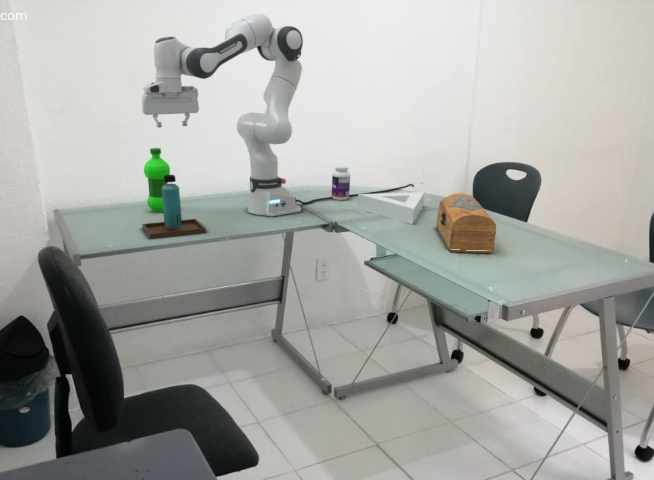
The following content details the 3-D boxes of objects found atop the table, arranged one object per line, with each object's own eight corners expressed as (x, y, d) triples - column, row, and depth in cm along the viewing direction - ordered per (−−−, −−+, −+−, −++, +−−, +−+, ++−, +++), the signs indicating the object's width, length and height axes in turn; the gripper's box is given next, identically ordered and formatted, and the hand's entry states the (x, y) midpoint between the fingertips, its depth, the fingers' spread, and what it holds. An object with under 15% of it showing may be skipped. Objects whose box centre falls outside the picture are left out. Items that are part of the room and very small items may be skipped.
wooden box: (433, 227, 234) (437, 192, 228) (476, 229, 233) (481, 193, 227) (444, 252, 206) (449, 213, 201) (493, 254, 206) (499, 214, 200)
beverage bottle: (178, 232, 219) (174, 177, 211) (161, 230, 221) (157, 176, 213) (185, 227, 225) (181, 173, 217) (168, 226, 226) (164, 172, 218)
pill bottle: (330, 196, 277) (331, 164, 271) (347, 196, 277) (348, 164, 272) (332, 200, 269) (334, 168, 264) (350, 200, 270) (352, 168, 264)
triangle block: (357, 208, 258) (358, 194, 256) (396, 199, 274) (398, 185, 272) (412, 224, 238) (413, 208, 235) (451, 213, 254) (453, 198, 251)
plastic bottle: (162, 205, 255) (157, 145, 245) (177, 210, 249) (173, 149, 239) (142, 210, 248) (136, 148, 238) (157, 215, 242) (152, 152, 232)
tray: (195, 223, 233) (195, 218, 232) (205, 232, 222) (205, 228, 221) (142, 228, 225) (142, 223, 224) (149, 238, 214) (149, 234, 213)
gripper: (195, 85, 221) (197, 124, 226) (138, 86, 213) (142, 126, 218) (200, 86, 216) (202, 126, 221) (142, 88, 208) (146, 129, 213)
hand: (172, 126), depth 220 cm, fingers open, 8 cm apart
